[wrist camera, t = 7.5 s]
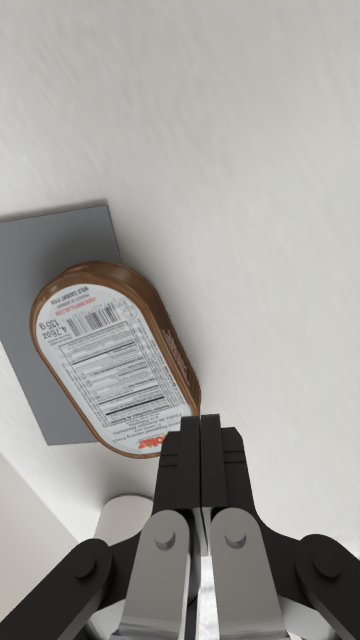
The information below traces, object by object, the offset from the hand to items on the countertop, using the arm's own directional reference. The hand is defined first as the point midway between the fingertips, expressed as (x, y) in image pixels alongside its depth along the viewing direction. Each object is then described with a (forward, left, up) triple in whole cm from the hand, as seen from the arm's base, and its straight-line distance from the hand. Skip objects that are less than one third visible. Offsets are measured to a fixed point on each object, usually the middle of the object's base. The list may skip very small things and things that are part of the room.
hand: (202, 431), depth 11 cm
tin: (+1, -1, -7) cm, 8 cm away
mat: (0, -9, -9) cm, 13 cm away
